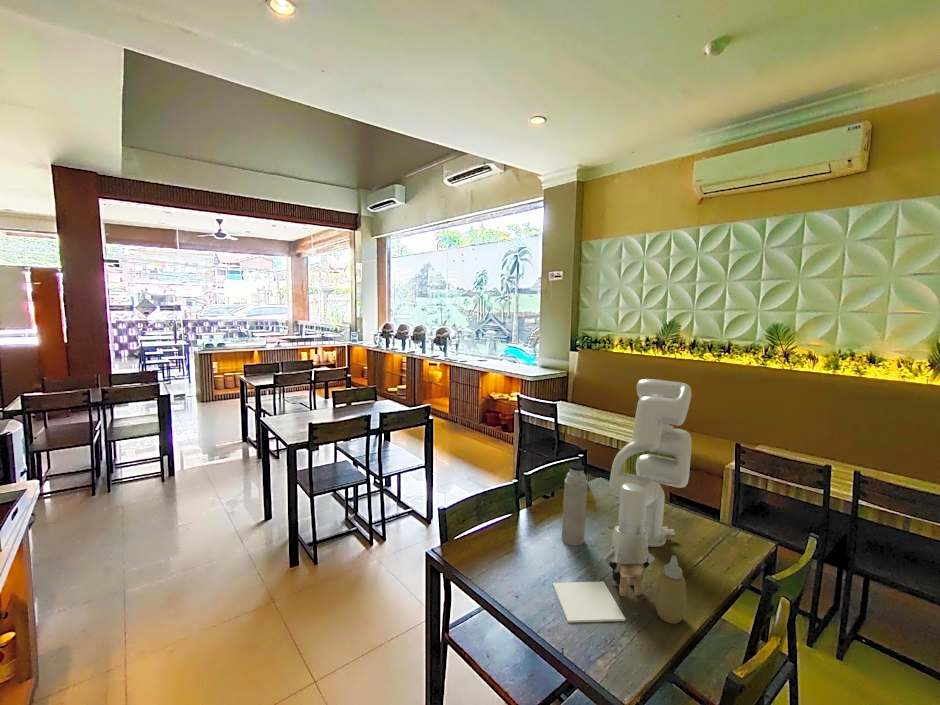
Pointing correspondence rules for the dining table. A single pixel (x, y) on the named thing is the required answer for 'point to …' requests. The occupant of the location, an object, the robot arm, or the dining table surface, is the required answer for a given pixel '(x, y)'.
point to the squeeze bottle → (671, 593)
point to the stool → (630, 578)
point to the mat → (587, 602)
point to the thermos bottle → (574, 506)
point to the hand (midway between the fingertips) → (627, 581)
